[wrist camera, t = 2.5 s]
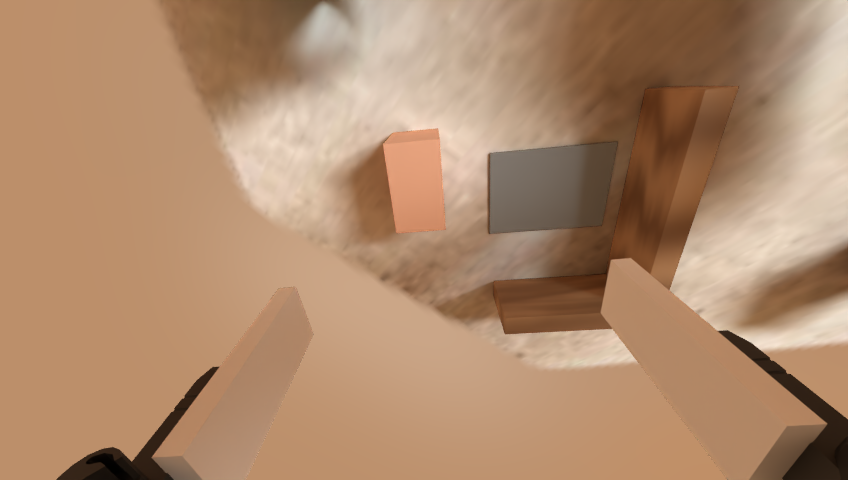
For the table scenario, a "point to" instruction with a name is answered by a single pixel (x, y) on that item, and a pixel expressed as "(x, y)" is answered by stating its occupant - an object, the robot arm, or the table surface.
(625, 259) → the robot arm
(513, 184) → the pad
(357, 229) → the table surface
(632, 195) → the corner walls
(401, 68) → the table surface
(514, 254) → the table surface
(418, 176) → the block
